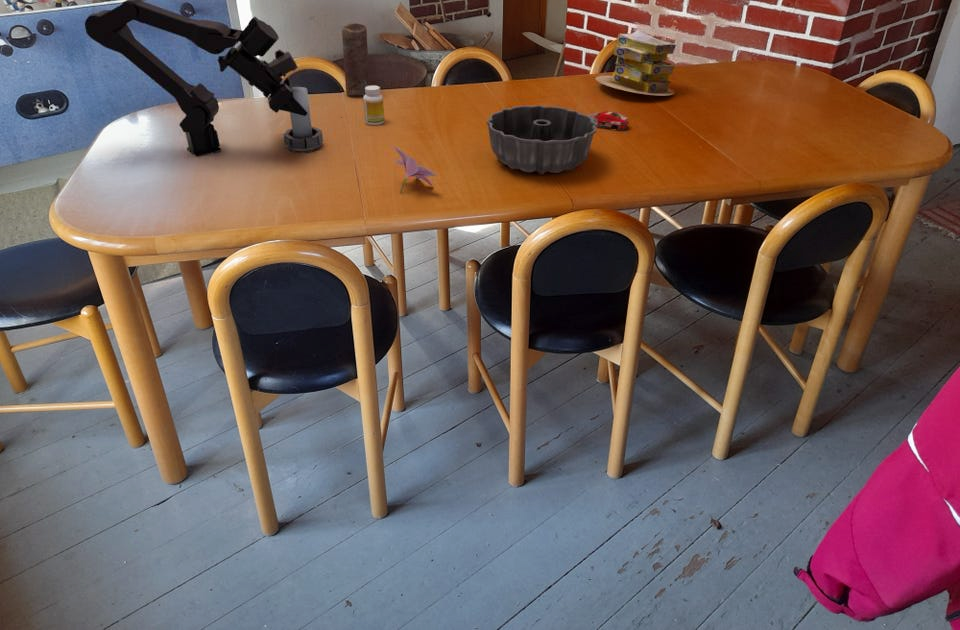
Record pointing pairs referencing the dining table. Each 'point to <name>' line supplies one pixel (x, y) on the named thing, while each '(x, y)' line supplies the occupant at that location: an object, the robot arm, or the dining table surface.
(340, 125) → the dining table surface
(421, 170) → the lily
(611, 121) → the race car
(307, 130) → the peg
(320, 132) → the socket collar
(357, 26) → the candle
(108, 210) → the dining table surface
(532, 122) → the bundt pan
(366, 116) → the supplement bottle
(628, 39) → the stacked boxes on plate
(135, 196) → the dining table surface
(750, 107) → the dining table surface
